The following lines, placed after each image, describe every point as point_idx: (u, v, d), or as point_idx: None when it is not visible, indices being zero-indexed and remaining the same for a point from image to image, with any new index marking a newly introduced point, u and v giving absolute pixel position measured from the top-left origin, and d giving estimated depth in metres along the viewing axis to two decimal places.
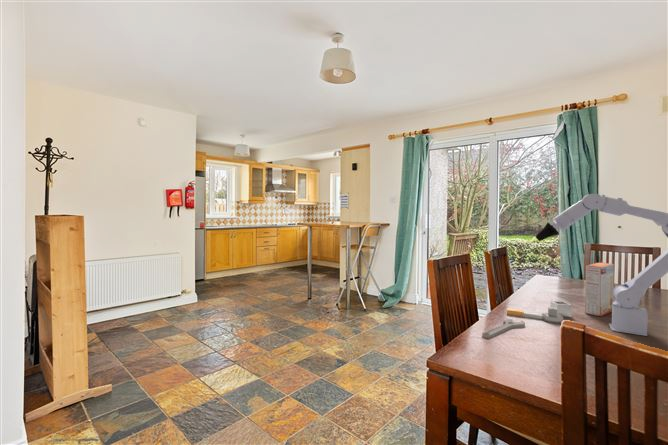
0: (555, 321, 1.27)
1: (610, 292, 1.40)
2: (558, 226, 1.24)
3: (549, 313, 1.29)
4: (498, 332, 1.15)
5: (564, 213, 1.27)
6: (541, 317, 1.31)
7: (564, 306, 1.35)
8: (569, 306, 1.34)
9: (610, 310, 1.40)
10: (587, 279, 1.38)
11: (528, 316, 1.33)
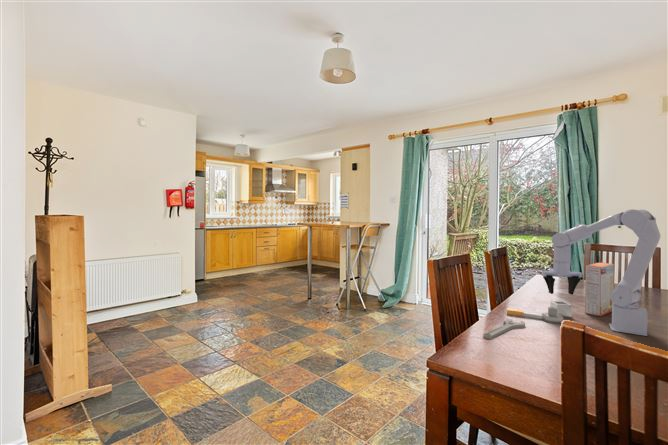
0: (555, 321, 1.27)
1: (610, 292, 1.40)
2: (543, 272, 1.38)
3: (549, 313, 1.29)
4: (499, 333, 1.15)
5: None
6: (541, 317, 1.31)
7: (564, 306, 1.35)
8: (569, 306, 1.34)
9: (610, 310, 1.40)
10: (587, 279, 1.38)
11: (528, 316, 1.33)
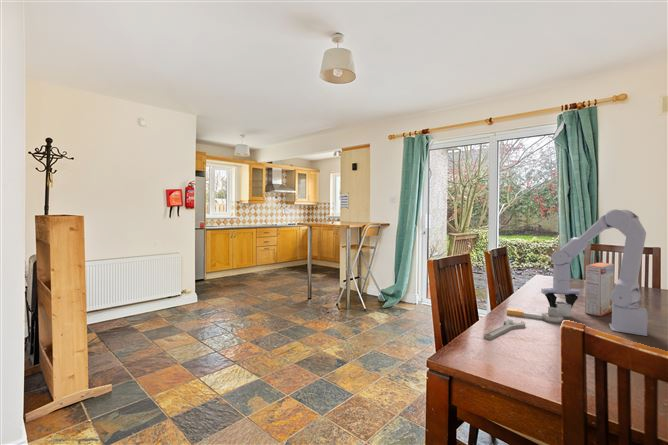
0: (555, 321, 1.27)
1: (610, 292, 1.40)
2: (542, 290, 1.38)
3: (549, 313, 1.29)
4: (499, 333, 1.14)
5: None
6: (541, 317, 1.31)
7: (564, 306, 1.35)
8: (569, 306, 1.34)
9: (610, 310, 1.40)
10: (587, 279, 1.38)
11: (528, 316, 1.33)
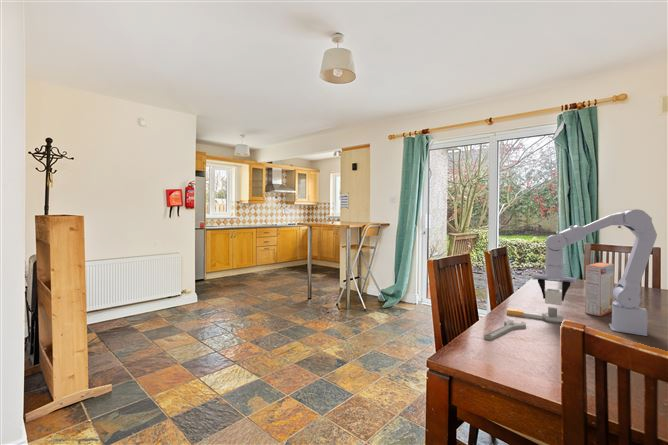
0: (555, 321, 1.27)
1: (610, 292, 1.40)
2: (532, 275, 1.33)
3: (549, 313, 1.29)
4: (500, 334, 1.14)
5: None
6: (541, 317, 1.31)
7: (553, 293, 1.28)
8: (559, 294, 1.27)
9: (610, 310, 1.40)
10: (587, 279, 1.38)
11: (528, 316, 1.33)
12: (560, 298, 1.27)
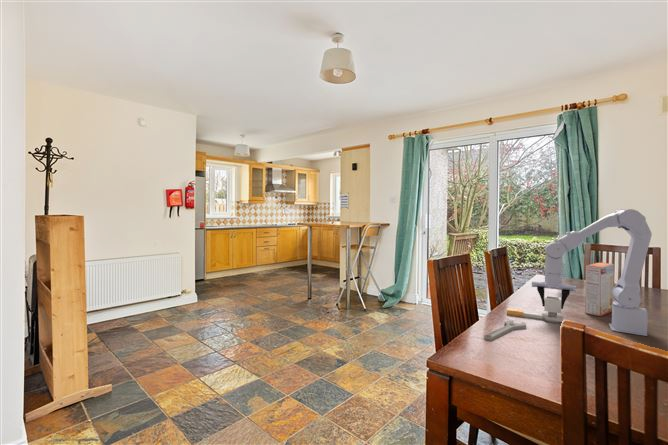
0: (555, 321, 1.27)
1: (610, 292, 1.40)
2: None
3: (549, 313, 1.29)
4: (500, 334, 1.13)
5: None
6: (541, 317, 1.31)
7: (553, 301, 1.27)
8: (559, 302, 1.26)
9: (610, 310, 1.40)
10: (587, 279, 1.38)
11: (528, 316, 1.33)
12: (559, 306, 1.26)
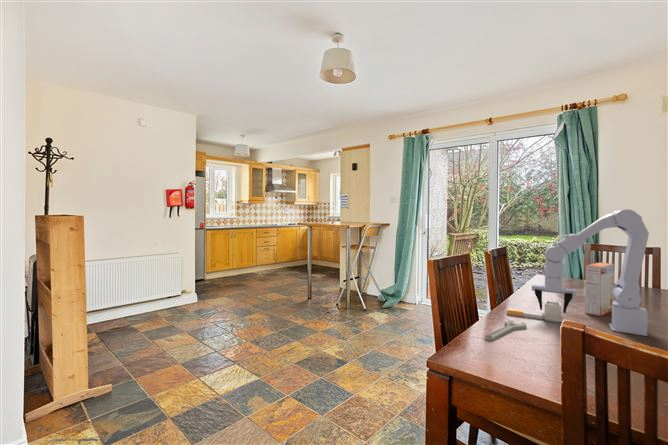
0: (555, 321, 1.27)
1: (610, 292, 1.40)
2: None
3: None
4: (500, 334, 1.13)
5: None
6: (541, 317, 1.31)
7: (553, 306, 1.27)
8: (558, 307, 1.26)
9: (610, 310, 1.40)
10: (587, 279, 1.38)
11: (528, 316, 1.33)
12: (559, 311, 1.26)
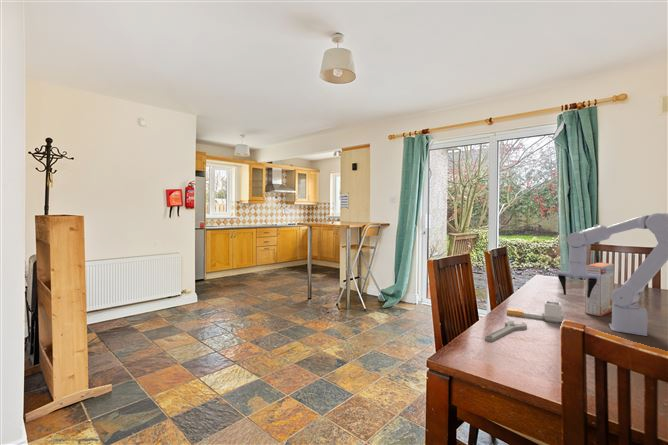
0: (555, 321, 1.27)
1: (610, 292, 1.40)
2: (555, 272, 1.35)
3: None
4: (501, 335, 1.13)
5: None
6: (541, 317, 1.31)
7: (553, 306, 1.28)
8: (558, 307, 1.26)
9: (610, 310, 1.40)
10: (587, 279, 1.38)
11: (528, 316, 1.33)
12: (559, 311, 1.26)
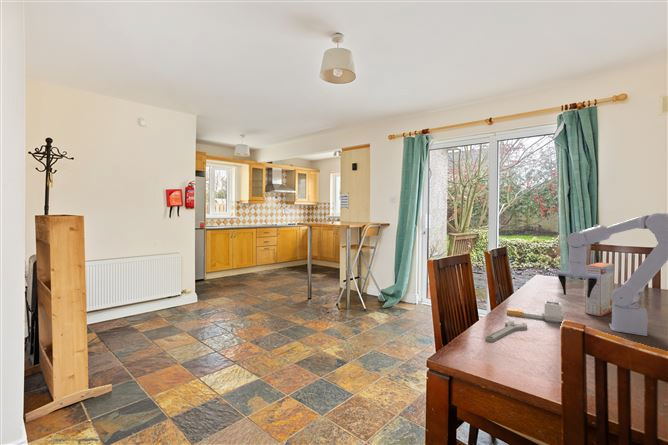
0: (555, 321, 1.27)
1: (610, 292, 1.40)
2: (555, 272, 1.35)
3: None
4: (501, 335, 1.12)
5: None
6: (541, 317, 1.31)
7: (553, 306, 1.28)
8: (559, 307, 1.26)
9: (610, 310, 1.40)
10: (587, 279, 1.38)
11: (528, 316, 1.33)
12: (559, 311, 1.26)
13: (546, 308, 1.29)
